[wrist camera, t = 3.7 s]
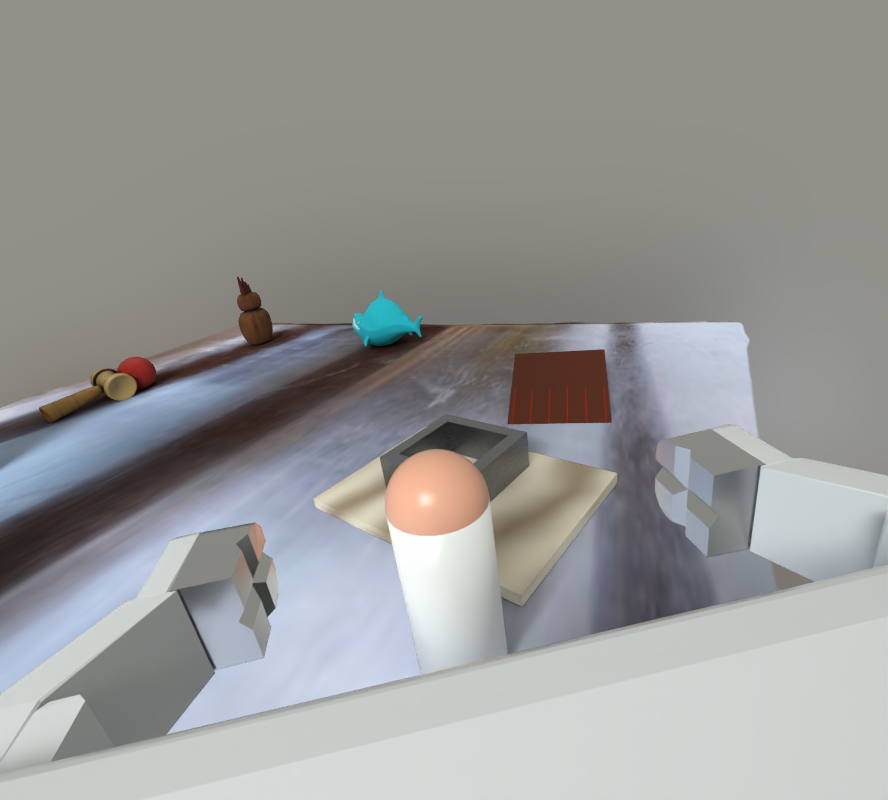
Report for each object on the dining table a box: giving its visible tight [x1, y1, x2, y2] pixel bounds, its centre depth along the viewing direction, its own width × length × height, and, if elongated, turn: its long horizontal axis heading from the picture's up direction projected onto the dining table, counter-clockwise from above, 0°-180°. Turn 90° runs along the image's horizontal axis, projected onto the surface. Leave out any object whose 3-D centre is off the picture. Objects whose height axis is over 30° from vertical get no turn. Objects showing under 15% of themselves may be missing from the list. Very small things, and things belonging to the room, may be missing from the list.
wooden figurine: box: [237, 277, 273, 345], centre depth 106 cm, size 7×6×15 cm
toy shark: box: [352, 290, 423, 346], centre depth 90 cm, size 10×18×11 cm, turn 53°
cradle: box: [380, 415, 529, 502], centre depth 44 cm, size 9×9×4 cm
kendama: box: [39, 357, 156, 423], centre depth 83 cm, size 8×6×18 cm
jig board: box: [314, 426, 617, 607], centre depth 43 cm, size 22×16×1 cm
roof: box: [508, 350, 611, 424], centre depth 64 cm, size 24×11×5 cm, turn 167°
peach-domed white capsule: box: [385, 449, 508, 675], centre depth 26 cm, size 5×5×14 cm
